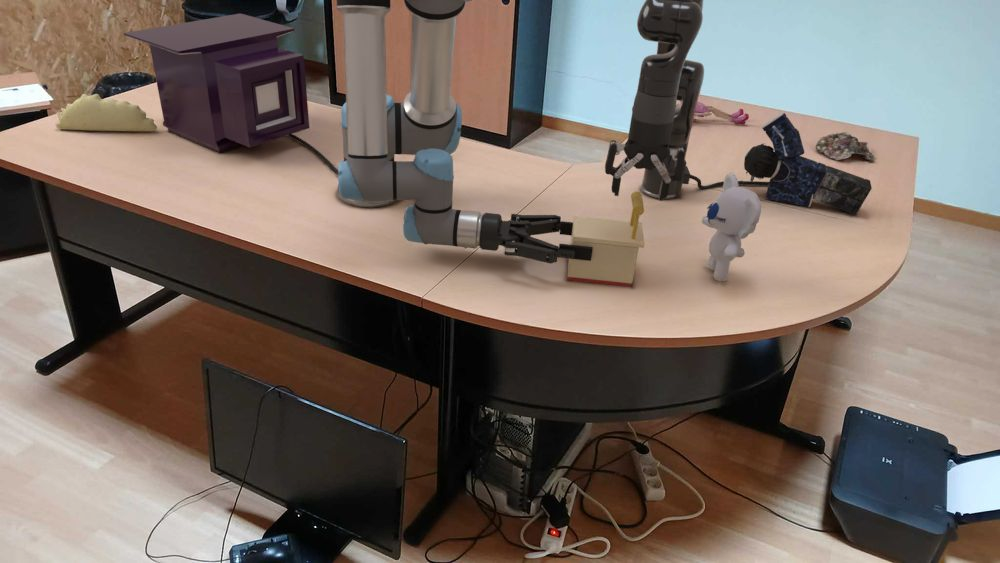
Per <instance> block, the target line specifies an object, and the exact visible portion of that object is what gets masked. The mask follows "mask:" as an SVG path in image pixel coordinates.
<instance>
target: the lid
mask: <svg viewBox="0 0 1000 563" xmlns="http://www.w3.org/2000/svg"><path fill="white" fill-rule="evenodd" d="M630 198H631V207H632V211H631V216H630V221H626V220H618V219H617V220H616V219H608V218H599V217H598V218H597V217H589V216H578V215H573V218H572V220H573V221H572V222H573V241H581V242H591V243H600V244H610V245H619V246H629V247H638V248H639V249H644V248H645V237H644V229H643V223H642V222H639V220H640V216H642V215H643V214H644V213H645V208H644V200H643V194H642V193H641V192H640V191H637V190H636V191H633V192H632V193H631V196H630Z"/></svg>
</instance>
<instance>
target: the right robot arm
mask: <svg viewBox="0 0 1000 563" xmlns="http://www.w3.org/2000/svg"><path fill="white" fill-rule="evenodd" d="M703 7H704V0H645V1H644V2H643V5H642V6H641V8H640V10H639V12H638V16H637V22H636V23H637V24H636V27H637V31H638V33H639V35H640V36H641V38H642V39H644V40H645V41H648V42H654V43H657V49H656V54H649V55H647V56H646V57H644V58H643V60H642V62H641V67H640V70H639V71H640V73H639V77H638V84H637V90H636V94H635V97H634V100H633V101H634V102H633V105H632V108H631V118H630V124H629V130H628V137H627V140H626V142H624V143H621V142H617V140H615V139H612V140H611V141H609V145H608V151H607V154H606V159H605V163H604V172H605V174H606V175H610V176H612V181H611V193H612V194H614V197H619V196H620V194H619V193H620V187H621V183H622V182H621V181H622V176H624V174H625V173H627V172H629V171H630V170H631V169H632V168H635V169H637V170H641V169H642V170H643V169H644V172H643V178H642V183H641V186H640V190H641V192H642V193H643V194H645V195H646V196H649V197H651V198H655V199H658V201H661V202H663V201H664V200H669V199H670V200H671V199H674V198H678V199H679V198H680V196H681V192H682V186H683V185H689V183H690V179H691V180H693V181H695V182H696V184H697V188H698V189H700V190H708V189H713V188H716V187H721V186H723V184H724V181H717V182H714V183H711V184H709V185H702V180H701V179H700V178H699V177H697V176H695V175H693V174H691V172H690V170H689V167H688V166H687V160H686V156H687V151H688V146H689V141H690V136H691V132H692V127H693V122H694V121H693V119H695V116H694V115H695V110H696V106H697V102H699V98H700V94H701V90H702V88H703V87H702V86H703V83H704V77H705V66H704V64H703V63H702V62H699V61H694V60H689V59H687V57H688V54H689V52H690V50H691V49H692V46H693V44H694V42H695V41H696V39H697V37H698V35H699V32H700V31H701V29H702V28H701V27H702V25H703V20H704V19H703V17H704V16H703ZM677 101H679V102H680V101H682V104H681V106H679V107H676V105H677ZM622 151H623V152H624V153H625V157H624V158H623V159H622V160H621V162H620V163H619V164H618V165H617V166H614V162H615V158H616V156H618V155H620V153H621V152H622ZM738 185H745V186H768V185H769V181H761V180H759V181H757V180H753V181H751V180H749V181H748V180H738Z"/></svg>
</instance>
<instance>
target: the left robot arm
mask: <svg viewBox="0 0 1000 563" xmlns="http://www.w3.org/2000/svg"><path fill="white" fill-rule="evenodd" d="M470 1H471V2H472V1H473V0H403V2H404V6H405V7H406V9H407V10H408V12H410V13H411V43H410V44H411V46H410V47H411V48H410V50H411V51H410V53H411V54H410V61H411V62H410V91H409V92H408V93H407V94H406V96H405V97H404V99H403V102H395V100H394V98H393V96H392V95H390V94H387V92H388V91H387V54H386V53H387V48H386V46H387V44H386V16H387V15H388V13H389V12H390V11H391V0H336V9H337V10H338V11H339V12H340V13H341V15H342V23H343V25H342V26H343V48H344V49H343V50H344V51H343V52H344V77H345V78H344V79H345V102H344V103H343V105H342V107H341V121H340V126H341V128H342V129H341V130H342V152H343V160H341V161H340V162H339V163H338V166H337V167H338V168H336V167H335V166H334V165H333V163H332V162H331V161H330V160H329V159H328V158H327V157H325V156H324V155H323V154H322V152H320V151H319V150H318V149H316V148H315V147H314V146H312V145H311V144H310V143H309V142H308V141H307V142H306V141H305V140H304V139H303V138H300V137H299V136H297V135H295V134H294V133H293V134H290V135H287V136H288V137H290V138H292V139H294V140H295V141H297V142H299V143H300V144H302V145H303V146H305V147H307V148H308V149H309V150H311V151H312V152H313V153H314V154H316V155H317V156H318V157H319V158H320V159H321V160H322V161H323V162H324V163H325V164H326V165H327V166H328V167H329V168H330V169H331V170H332V171H333V172H334V174H337V176H338V177H337V179H338V180H337V197H338V198H339V199H340V200H341V202H343V203H344V204H345V203H346V204H347V205H350V206H354V207H357V208H358V207H359V208H380V207H381V208H382V207H385V206H389V205H392V204H395V203H397V202H398V201H414V204H410V205H408V206H407V207H406V208H405V210H404V216H403V224H402V230H403V236H404V238H405V239H406V240H407V241H408V242H411V243H417V244H423V245H437V246H446V247H447V246H448V247H449V246H450V247H457V248H463V249H478V247H479V248H480V250H482V251H492V252H496V251H498V250H499V248H500V246H501V247H504V255H505V256H512V257H519V258H524V259H529V260H534V261H538V262H542V263H546V264H555V263H558V259H559V258H560V259H561V258H562V259H567V260H568V259H578V260H588V261H591V257H592V250H593V247H587V246H578V245H570V244H567V243H559V244H558V245H556V244H553V243H550V242H548V241H544V240H542V239H539V238H536V237H533V236H536V235H537V236H539V235H545V234H552V233H559V235H561V236H569V237H571V234H572V227H573V221H562V217H561V215H557V214H518V213H511V214H510V219H509V220H502V218H503V217H502V215H501V214H500V213H494V212H493V213H492V212H485V213H483V214H482V213H481V212H480V211H476V210H463V209H455V208H453V194H454V180H455V177H454V176H455V175H454V159H453V156H452V154H454V153H455V152H456V151H457V149H458V146H459V143H460V141H461V140H460V139H461V133H462V125H463V113H462V107H461V106H460V104H458V103H456V101H455V98H454V97H453V95H452V94H451V91H452V90H451V88H452V75H453V64H454V63H453V62H454V49H455V37H456V36H455V34H456V24H457V17H458V16H459V15H461V14H462V12H463V11H464V9H465V7H466V2H467V3H468V2H470ZM395 155H407V156H410V155H411V156H414V159H413V161H412V160H411V161H410V160H405V161H404V160H402V161H401V160H395Z"/></svg>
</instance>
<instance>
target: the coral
mask: <svg viewBox="0 0 1000 563" xmlns="http://www.w3.org/2000/svg"><path fill="white" fill-rule="evenodd" d="M815 150H816V151H817V152H818V153H824V155H825V156H827V157H828V158H830V159H832V160H835V161H839V160H840V161H841V160H844V159H848V158H851V157H852V155H853V154H854V155H857V154H859V155H860V156H861V158H863V159H865V160H866V161H871V162H874V160H875V159H874V158H875V155H874V154H873V153H872V152H871V151H870V149H869V147H868V142H867V141H859V139H858V137H855V136H853V135H852V134H851V133H849V132H848V131H846V132H844V131H843V132H836V133H830V134H827V135H826V136H822V137H820V138H819V140H818V141H817V142H816V144H815ZM873 157H874V158H873Z"/></svg>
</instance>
